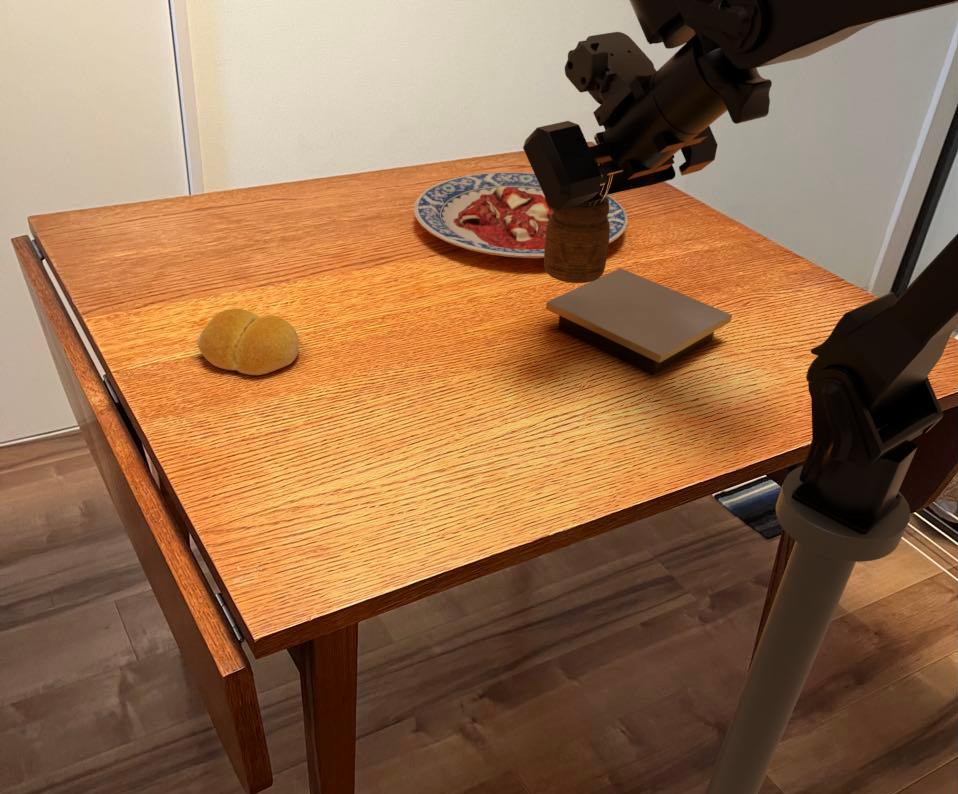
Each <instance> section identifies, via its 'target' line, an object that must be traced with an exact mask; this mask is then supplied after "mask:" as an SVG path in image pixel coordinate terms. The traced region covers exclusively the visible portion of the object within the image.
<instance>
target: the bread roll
mask: <svg viewBox="0 0 958 794" xmlns="http://www.w3.org/2000/svg"><path fill="white" fill-rule="evenodd" d="M299 341H300V340H299V335H298V333H297V331H296V329H295V328H294V326H293V325H292V323H290V322H289V321H287V320H286V319H284V318H282V317H280V316H278V315H263V316H259V315H258V314H256V313H254V312H253V311H250V310H246V309H243V308H238V307H237V308H236V307H235V308H230V309H224V310H222V311H220V312H219V313H217V314H216V315H214V316H213V317H212V318H211V320H209V322H208V324H206V326H204V328H203V329H202V330H201V332H200V334H199V336H198V339H197V347H198V349H199V351H200V353H201V355H202V356H203V357H204V359H206V361H208V362H209V363H210V364H211V365H212V366H215V367H216V368H219V369H223V370H228V371H236V372H238V373H241V374H243V375H249V376H261V375H267V374H271V373H272V372H275V371H278V370H281V369H283V368H285V367H287V366H289V365H290V364H292V363H293V362H294V361H295V360H296V358H297V356H298V355H299V349H300V348H299V347H300V346H299Z"/></svg>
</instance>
